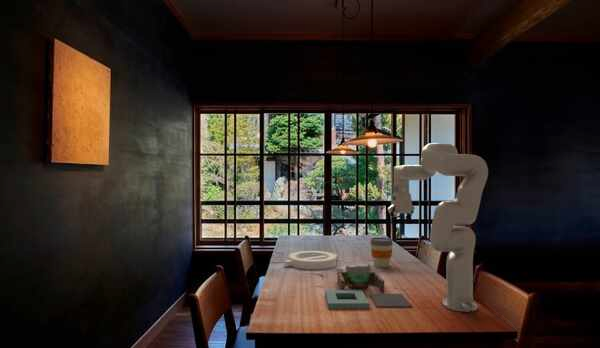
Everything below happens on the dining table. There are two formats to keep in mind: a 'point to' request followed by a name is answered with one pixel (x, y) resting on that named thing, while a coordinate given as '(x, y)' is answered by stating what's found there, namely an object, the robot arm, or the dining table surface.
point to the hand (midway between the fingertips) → (401, 224)
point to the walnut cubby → (373, 278)
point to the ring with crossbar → (312, 260)
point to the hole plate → (346, 299)
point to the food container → (358, 276)
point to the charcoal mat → (390, 300)
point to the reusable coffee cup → (381, 251)
